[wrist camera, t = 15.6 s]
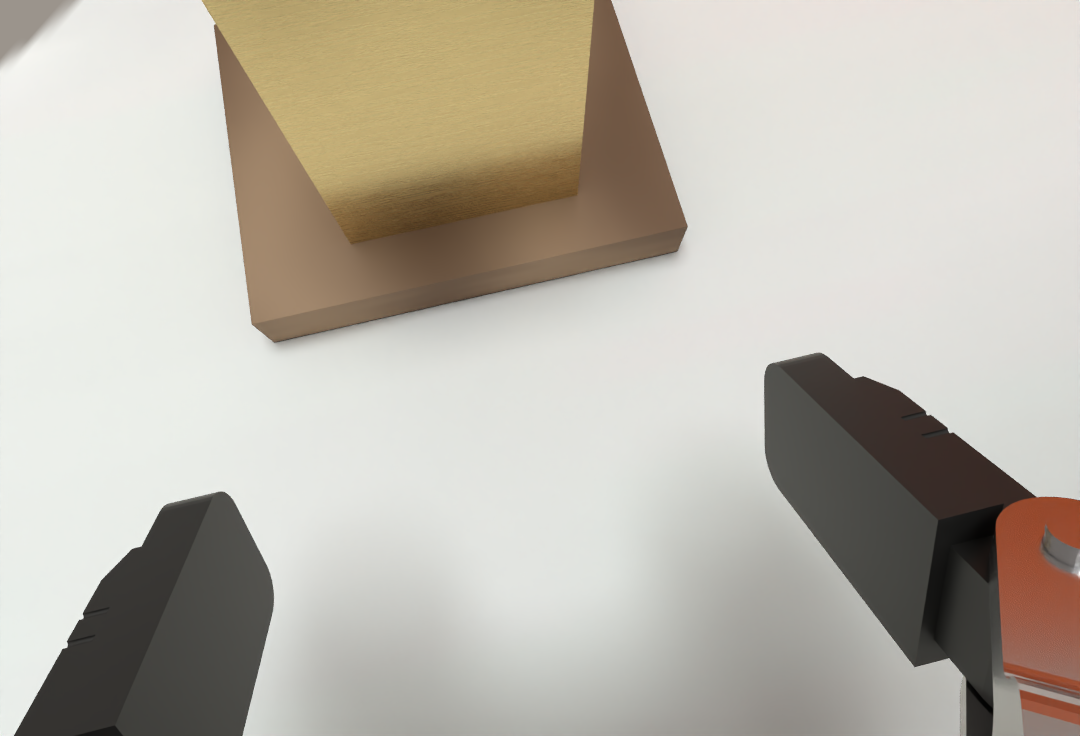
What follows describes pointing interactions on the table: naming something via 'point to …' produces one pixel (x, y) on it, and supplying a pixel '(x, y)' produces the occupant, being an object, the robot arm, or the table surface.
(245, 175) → the post base
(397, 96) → the sleeve
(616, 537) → the table surface
